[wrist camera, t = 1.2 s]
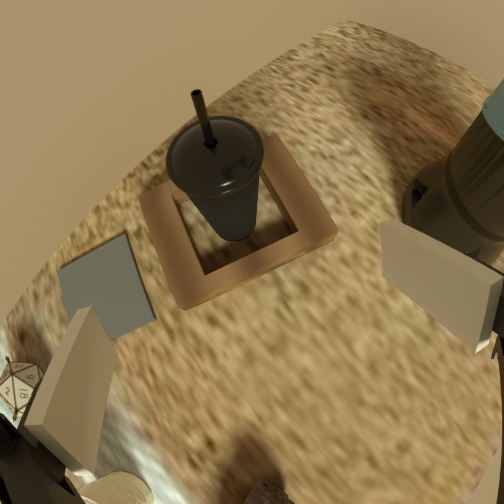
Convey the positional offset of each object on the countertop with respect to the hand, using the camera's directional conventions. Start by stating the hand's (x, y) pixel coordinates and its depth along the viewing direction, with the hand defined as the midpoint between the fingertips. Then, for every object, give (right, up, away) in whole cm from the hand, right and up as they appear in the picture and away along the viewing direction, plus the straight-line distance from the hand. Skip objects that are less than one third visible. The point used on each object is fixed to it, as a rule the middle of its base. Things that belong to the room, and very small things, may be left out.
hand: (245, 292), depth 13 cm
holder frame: (-2, +5, +23) cm, 23 cm away
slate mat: (-18, -3, +21) cm, 28 cm away
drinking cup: (-2, +5, +23) cm, 24 cm away
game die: (-27, -16, +18) cm, 36 cm away
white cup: (-14, -27, +14) cm, 34 cm away
